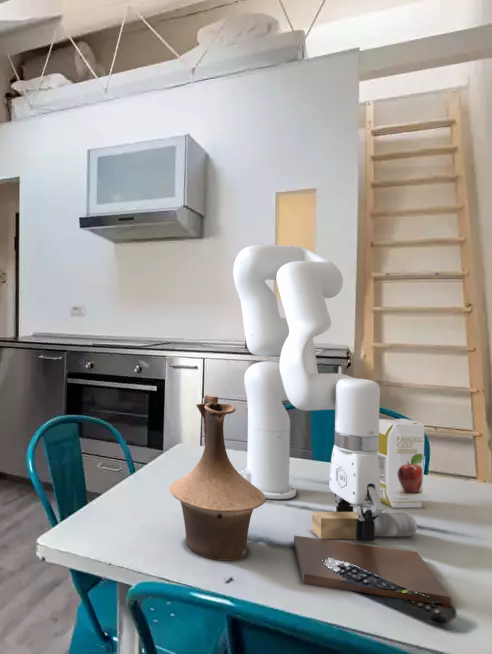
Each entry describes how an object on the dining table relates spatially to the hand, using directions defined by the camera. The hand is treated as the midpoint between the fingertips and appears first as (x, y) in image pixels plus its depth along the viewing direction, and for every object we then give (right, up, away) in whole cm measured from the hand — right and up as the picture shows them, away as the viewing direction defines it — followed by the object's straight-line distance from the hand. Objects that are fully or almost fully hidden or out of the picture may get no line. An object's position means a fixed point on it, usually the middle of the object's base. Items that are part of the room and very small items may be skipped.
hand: (354, 532), depth 107 cm
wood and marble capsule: (+3, -1, 0) cm, 3 cm away
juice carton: (+20, -1, +18) cm, 27 cm away
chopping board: (-7, -1, -15) cm, 16 cm away
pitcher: (-29, -1, -6) cm, 30 cm away
